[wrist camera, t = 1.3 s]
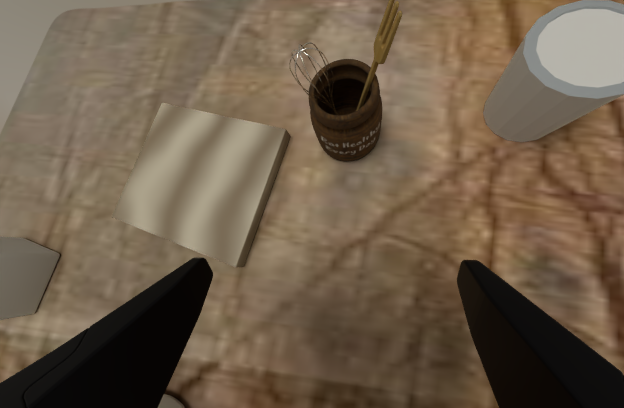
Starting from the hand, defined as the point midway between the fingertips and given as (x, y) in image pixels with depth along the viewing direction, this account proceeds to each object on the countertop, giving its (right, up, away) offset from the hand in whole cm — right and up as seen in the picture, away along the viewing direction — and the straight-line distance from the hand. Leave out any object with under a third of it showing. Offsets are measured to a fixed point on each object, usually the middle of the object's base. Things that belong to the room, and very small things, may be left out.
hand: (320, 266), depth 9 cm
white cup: (+18, +10, +13) cm, 24 cm away
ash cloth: (-12, +5, +18) cm, 22 cm away
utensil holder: (+3, +9, +16) cm, 18 cm away
